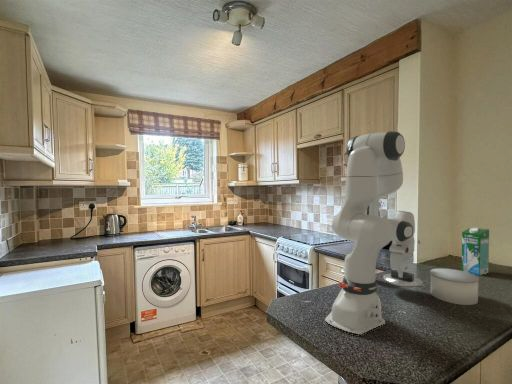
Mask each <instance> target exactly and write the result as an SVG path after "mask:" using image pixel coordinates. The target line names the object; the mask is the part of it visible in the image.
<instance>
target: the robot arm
mask: <svg viewBox="0 0 512 384" xmlns="http://www.w3.org/2000/svg"><path fill="white" fill-rule="evenodd" d="M405 147H406V141H405V138H404V136H403V134H402V133H400V132H399V131H392V130H391V131H388V132H387V131H385V132H371V133H366V134H365V133H364V134H363V135H356V136H353V137H352V138H350V139H349V140H348V142H347V144H346V147H345V148H346V149H345V150H346V154H347V157H348V159H347V167H346V173H345V174H346V175H345V177H346V178H345V192H344V193H345V196H344V201H343V204H342V206H341V208H340V210H339V211H338V213H336V215H335V216H334V217H333V219H332V221H331V228H332V231H333V233H334V234H335V235H337V236H338V237H340V238H342V239H343V240H345V241H351V242H353V248H352V251H351V252H349V253H348V254H346V255H345V257H344V276H343V279H342V281H339V282H338V287H339V288H341V289H340V291H339V293H338V295H337V296H336V298H335V300H334V302H333V304H332V305H331V306H332V307H331V311H330V313H329V314H328V315H327V316H326V317H325V318H324V322H325V321H326V322H327V323H328V324H330V325H332V326H334V327H337V328H339V329H342V330H344V331H348V332H352V333H356V334H362V333H364V332H367V331H369V330H371V329H373V328H376V327H378V326H380V327H382V326H384V325H386V320H385V319H384V318H383V317H382V304H381V299H380V297H379V295H378V293H377V288H378V283H377V280H376V272H377V271H376V270H377V261H378V260H377V259H378V256H379V254H380V252H381V251H382V249H383V248H384V247H386V246H388V244H389V243H390V242H391V241H392V243H391V244H390V246H389V249H388V250H389V252H390V256H389V257H390V261H389V262H390V268H391V270H397V271H398V277H400V278H402V277H404V276H403V275H404V273H403V272H407V273H408V268H409V266H410V265H412V264H414V260H415V259H414V257H415V256H414V252H415V244H416V243H415V237H414V236H415V232H416V223H415V221H416V220H415V215H414V213H412V212H410V211H404V210H397V211H395V212H394V217H393V218H384V217H380V215H379V210H380V200H381V199H382V198H383V197H385V196H388V195H391V194H393V193H395V192H397V191H399V189H400V188H401V187H402V186H403V183H404V172H403V166H402V161H401V157H402V155H403V154H404V152H405ZM326 322H325V323H326ZM327 323H326V324H327ZM328 324H327V325H328ZM383 324H384V325H383ZM330 325H329V326H330ZM381 325H382V326H381ZM332 326H331V327H332ZM378 328H379V327H378ZM376 329H377V328H376Z"/></svg>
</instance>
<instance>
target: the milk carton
mask: <svg viewBox="0 0 512 384" xmlns="http://www.w3.org/2000/svg"><path fill="white" fill-rule="evenodd" d="M489 252H490V229H489V228H488V229H487V228H481V227H469V228H467V229H466V230H464V231H462V232H461V271H464V272H468V273H472V274H474V275H475V274H476V276H479V275H480V276H483V274H484V275H488V274H489V263H490V261H489V260H490V259H489V257H490V256H489V255H490V253H489ZM487 273H488V274H487Z"/></svg>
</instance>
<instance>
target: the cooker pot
mask: <svg viewBox="0 0 512 384" xmlns="http://www.w3.org/2000/svg"><path fill="white" fill-rule="evenodd" d="M429 274H430V294H431V295H432V297H434V298H436V299H438V300H441V301H443V302H446V303H450V304H453V305H454V304H455V305H461V306H473V305H474V306H475V305H477V304H478V302H479V281H480V276H478V275H475V274H471V273H468V272H464V271H462V270H458V269H454V268H453V269H452V268H441V267H440V268H432V269H431V270H430V271H429Z"/></svg>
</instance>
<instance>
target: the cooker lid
mask: <svg viewBox="0 0 512 384" xmlns="http://www.w3.org/2000/svg"><path fill="white" fill-rule="evenodd" d="M403 273H404V275H403V276H404V277H402V278H400V277H398V271H397V270H393V269H391V271H390V273H386V274H385V273H384V274H383V275H382V276H383V277H382V278H383V280H384V281H385V282H386V283H388V284H392V285H395V286H399V287H404V288H406V287H407V288H420V287H422V286H423V283H424V282H423V281H422V279H420V278H418V277H415V273H412V272H408V271H407V272H403Z"/></svg>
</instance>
